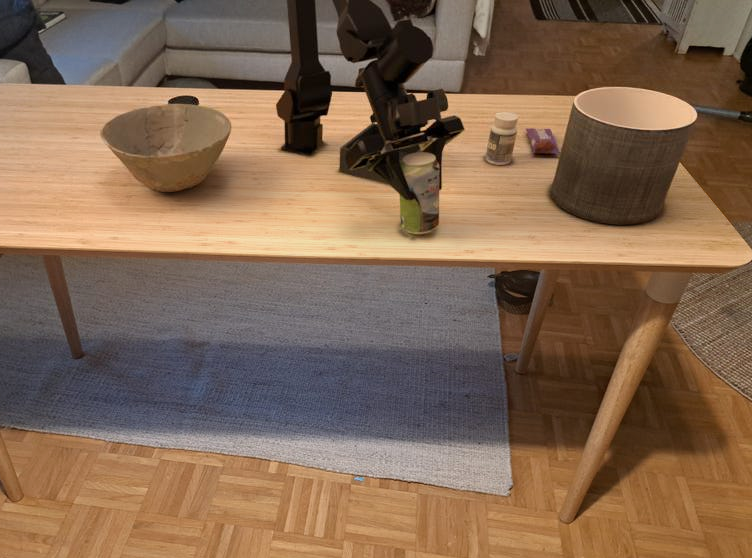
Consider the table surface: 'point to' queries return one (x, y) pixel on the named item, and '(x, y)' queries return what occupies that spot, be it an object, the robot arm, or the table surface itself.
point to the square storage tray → (363, 171)
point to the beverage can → (420, 193)
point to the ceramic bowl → (168, 143)
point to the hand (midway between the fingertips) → (424, 194)
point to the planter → (621, 154)
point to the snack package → (542, 141)
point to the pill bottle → (502, 138)
